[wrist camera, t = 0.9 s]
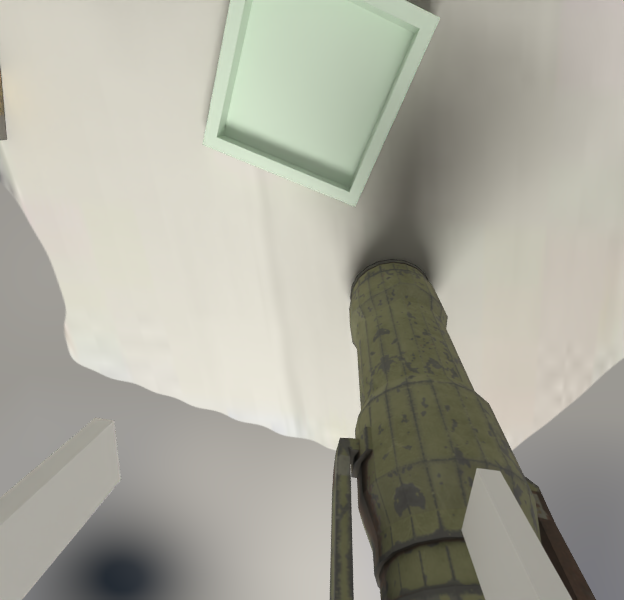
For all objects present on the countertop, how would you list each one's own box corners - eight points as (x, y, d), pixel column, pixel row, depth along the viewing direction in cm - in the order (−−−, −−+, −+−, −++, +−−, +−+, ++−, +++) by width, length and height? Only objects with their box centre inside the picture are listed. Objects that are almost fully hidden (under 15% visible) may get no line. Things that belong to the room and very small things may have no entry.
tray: (254, -64, 24) (245, -80, 22) (432, 24, 25) (440, 17, 23) (212, 141, 31) (202, 144, 29) (354, 200, 32) (355, 207, 30)
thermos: (433, 334, 39) (727, 1083, 9) (332, 322, 40) (303, 1018, 10) (456, 265, 35) (1170, 1284, 5) (342, 252, 35) (350, 1153, 5)
